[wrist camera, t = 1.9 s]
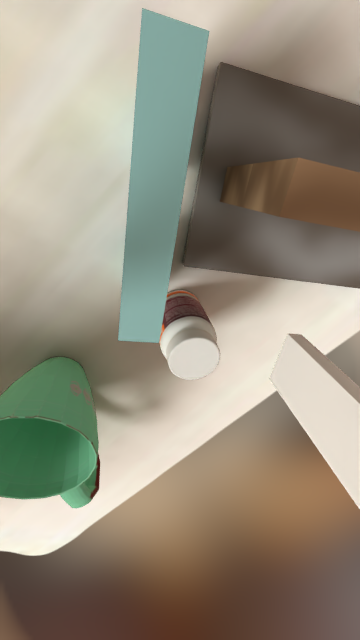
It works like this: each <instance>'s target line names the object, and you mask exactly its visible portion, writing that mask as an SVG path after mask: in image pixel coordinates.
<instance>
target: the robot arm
mask: <svg viewBox="0 0 360 640" xmlns="http://www.w3.org/2000/svg"><path fill="white" fill-rule="evenodd" d="M269 379H270V381H271V382H272V384H273V385H274V387H275V388H276V389H277V391H278V392H279V393H280V395H281V397H282V398H283V399H284V401H285V402H286V403H287V405H288V407H289V408H290V410H291V411H292V413H293V414H294V415H295V417H296V418H297V420H298V421H299V422H300V424H301V425H302V427H303V428H304V430H305V431H306V433H307V434H308V435H309V437H310V438H311V439H312V441H313V443H314V444H315V446H316V447H317V448H318V450H319V451H320V453H321V454H322V456H323V457H324V458H325V460H326V461H327V463H328V464H329V465H330V467H331V469H332V470H333V471H334V473H335V474H336V476H337V477H338V479H339V480H340V482H341V483H342V484H343V486H344V487H345V489H346V490H347V492H348V493H349V494H350V496H351V497H352V499H353V500H354V502H355V503H356V505H357V506H358V507H359V509H360V387H359V386H358V385H357V384H356V383H354V381H352V380H351V379H350V378H349V377H348V376H347V375H346V374H345V373H343V372H342V371H341V370H340V369H339V368H338V367H337V366H336V365H334V364H333V363H332V362H331V361H330V360H329V359H328V358H327V357H326V356H325V355H323V354H322V353H321V352H320V351H319V350H318V349H317V348H316V347H315V346H313V345H312V344H311V343H310V342H309V341H308V340H307V339H306V338H305V337H303V336H302V335H298V334H287V336H286V339H285V341H284V343H283V346H282V348H281V351H280V353H279V356H278V358H277V361H276V363H275V365H274V368H273V370H272V373H271V375H270V378H269Z"/></svg>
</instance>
